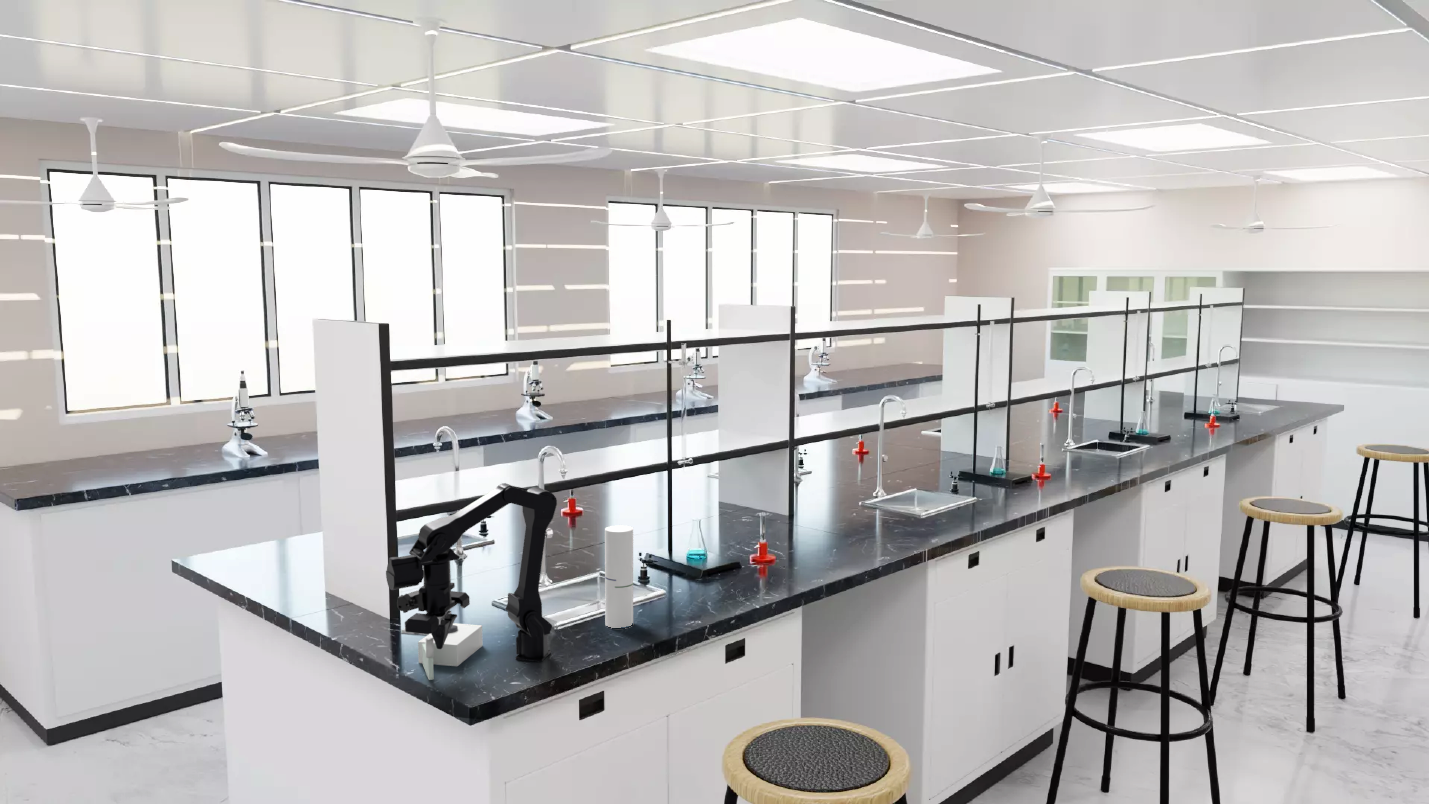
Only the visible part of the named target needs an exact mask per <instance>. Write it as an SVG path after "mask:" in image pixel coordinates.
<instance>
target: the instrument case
mask: <svg viewBox="0 0 1429 804" xmlns="http://www.w3.org/2000/svg"><path fill="white" fill-rule="evenodd" d="M426 638H433V636H432V634H429V635H425V636H424V637H423V638H421V639H420V640H419V641H417V652H418V664H423V663H422V644H424V643H426ZM483 642H484V641H483V625H480V624H469V623H468V624H467V623H456V622H454V623H453V625H452V627H451V629H450V631H449V633H448V636H447V638H446V640H445V643H444V645H443V648H442V649H437V647H436V644H435V641H434V639H433V647H434V657H433V665H436V666H437V665H438V666H448V667H450V666H451V667H458V666H460V665H461V664H462V663H464V661H466V660H467V659H468V658H470V657H471V656H472V655H473V654H474V653H476V652H477V651H478V650H479V649H480V648H482V647H483V645H484V644H483Z"/></svg>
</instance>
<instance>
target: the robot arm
mask: <svg viewBox="0 0 1429 804" xmlns="http://www.w3.org/2000/svg"><path fill="white" fill-rule="evenodd" d="M509 504H514V505H517V506H521V507H522V515H523V519H524V523H525V531H524V538H523V547H522V548H523V549H522V555H521V563H520V570H519V577H518V585H517V588H516V589H515V591H514V592H513V593H512V592H508V594H507V604H506V607H505V609H504V610H505V611H506V612H507V616H508V618H509V619H510V621H511V622H512V623H514V625H515V626H516V628H517V629H519V630H518V631H517V637H516V638H515V641H516V642H515V652H516V656H515V660H519V661H528V662H540V663H541V662H543V661H544V660H546V658H547V657H548V656H549V655H550V654H552V650H550V649H549V635H550V634H551V630H552V628H553V625H552V624H551V623H550V622H549V621H548V620H547V619H546V618H544V617H543V603H542V599H541V595H540V591H539V590H540V588H539V587H540V582H541V581H540V580H541V572H542V565H543V556H544V551H545V543H546V533H547V529H548V527H549V525H550V524H551V522H552V520H553V519H554V516H555V513H556V510H557V506H558V500H557V496H555V494H554V493H552V492H551V491H548V490H546V489H544V488H541V487H537V486H533V487H530V488H525V487H520V486H515V485H511V484H508V483H506V482H505V483H502V482H501V483H500V484H499V485H498V486H496V488H494V489H492V490H491V491H489V492H488V493H485V494H484V495H483V496H481V497H480V498H478V499H476V500H475V501H473V502H471V503H469V504H468V505H467V506H465V507H463V508H462V509H460V510H459V511H457V512H455V513H454V514H451V515H448V516H445V517H440V518H436V519H435V520H432V521H430V522H428V523H425V524H424V525H422V526H421V528H420V529H419V532H418V538H417V539H416V541H415V542H414V544H413V545H412V547H411V549H410V550H409V552H408V553H409V555H408V554H407V555H404V556H392V557H388V564H387V567H386V570H385V578H386V582H387V585H388V588H389V590H391V591H394V590H400V589H405V588H411V587H415V586H419V585H420V583H423V585H422V586H420V587H419V589H418V590H414V591H412V592H411V591H410V592H409V593H405V594H401V595H399V596H398V597H397V601H396V608H397V609H398V610H399V611H401V612H403V614H406V613H408V612H409V611H412V610H418V612H426V613H418V612H416V613H414V614H413V615H412V616H410V617H409V618H407V619H406V620H405V621H404V628H405V631H406V632H412V633H422V634H432V636H433V639H434V641H435V644H436V647H437V649H442V648H443V645H444V643H445V640H446V638H447V636H448V633H449V631H450V629H451V627H452V625H453V623H455V620H456V618H458V614H456V613H452V609H453V608H454V607H456V606H457V605H460V608H461V609H465V608H467V607H468V606H469V605H470V602H471V601H470V595H468V593H467V592H466V591H465V592H464V591H455V590H454V591H453V590H452V589H455V587H456V585H455V584H456V583H455V582H452V578H451V576H452V575H451V561H456V560H460V557H461V556H460V555H458V554H457V553H456V552H454V550H453V549H452V547H453V546H454V545H456V543H457V542H458V541H459V540H460V539H461V537H462V536H463V535H464V534H465V533H466V532H467V531H468V530H470V529H471V528H473V527H475V526H476V525H477V524H479V523H482V522H483V521H484V520H485V519H487V518H488V517H490V516H492V515H494V514H495V513H496V512H499V511H500V510H502V509H503V508H505V507H506V506H507V505H509Z"/></svg>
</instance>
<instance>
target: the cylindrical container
mask: <svg viewBox="0 0 1429 804" xmlns="http://www.w3.org/2000/svg"><path fill="white" fill-rule="evenodd" d="M604 599H605V600H604V603H605V605H604V606H605V607H604V613H605V614H604V618H605V619H604V620H605V621H604V622H605V623H604V624H605V627H606V626H608V627H611V628H610V629H612V628H621V627H626V626H631V625H632V623H633V624H634V527H632V526H629V525H622V524H621V525H620V524H619V525H609V526H607V527H604ZM608 627H607V628H608ZM631 627H632V626H631Z"/></svg>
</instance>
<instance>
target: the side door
mask: <svg viewBox="0 0 1429 804" xmlns="http://www.w3.org/2000/svg"><path fill="white" fill-rule="evenodd" d="M433 657H434V647H433V638H426V643H424V644H422V663H421V664H422V666H423V668H424V671H425V675H426V677H427V679H428V680H429V681H431V680H434V678H435V677H434V664H433Z"/></svg>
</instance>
